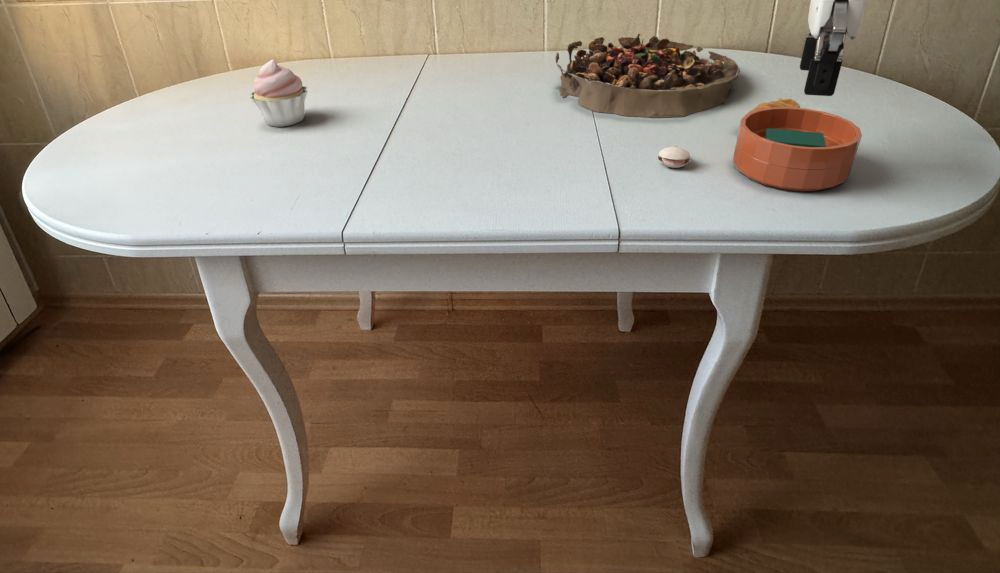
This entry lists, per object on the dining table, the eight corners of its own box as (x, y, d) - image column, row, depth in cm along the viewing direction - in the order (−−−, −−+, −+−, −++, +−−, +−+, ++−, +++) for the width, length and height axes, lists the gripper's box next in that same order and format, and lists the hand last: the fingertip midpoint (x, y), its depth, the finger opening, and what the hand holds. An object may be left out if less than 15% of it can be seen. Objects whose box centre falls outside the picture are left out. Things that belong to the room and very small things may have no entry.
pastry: (762, 141, 92) (767, 116, 89) (727, 127, 97) (732, 103, 94) (805, 128, 95) (811, 103, 93) (770, 115, 100) (775, 91, 98)
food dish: (580, 56, 134) (582, 17, 129) (740, 71, 124) (749, 30, 119) (526, 104, 107) (527, 57, 102) (726, 128, 97) (737, 78, 92)
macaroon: (656, 169, 85) (658, 152, 84) (658, 154, 89) (660, 138, 88) (688, 172, 84) (691, 155, 83) (689, 157, 88) (692, 140, 86)
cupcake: (321, 122, 103) (308, 61, 98) (264, 135, 100) (248, 72, 94) (305, 107, 110) (292, 48, 104) (251, 118, 106) (235, 58, 100)
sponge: (815, 160, 84) (823, 132, 82) (817, 174, 81) (826, 146, 79) (760, 155, 86) (766, 128, 84) (760, 169, 83) (767, 140, 81)
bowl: (841, 153, 87) (854, 111, 84) (853, 199, 76) (868, 154, 73) (733, 143, 91) (741, 103, 88) (730, 186, 80) (739, 142, 77)
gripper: (907, -68, 59) (857, 107, 69) (880, -87, 73) (841, 62, 83) (821, -66, 62) (784, 103, 72) (810, -85, 75) (780, 60, 85)
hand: (815, 81), depth 77 cm, fingers open, 9 cm apart
